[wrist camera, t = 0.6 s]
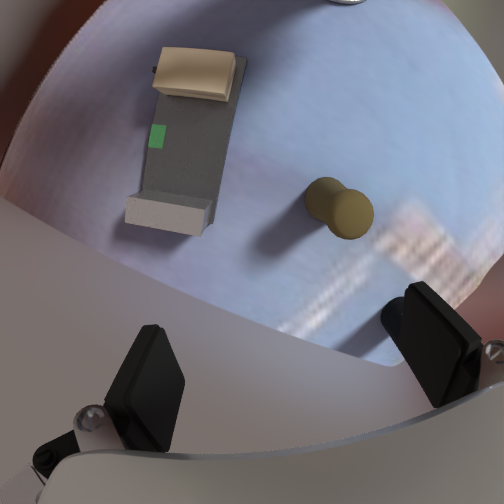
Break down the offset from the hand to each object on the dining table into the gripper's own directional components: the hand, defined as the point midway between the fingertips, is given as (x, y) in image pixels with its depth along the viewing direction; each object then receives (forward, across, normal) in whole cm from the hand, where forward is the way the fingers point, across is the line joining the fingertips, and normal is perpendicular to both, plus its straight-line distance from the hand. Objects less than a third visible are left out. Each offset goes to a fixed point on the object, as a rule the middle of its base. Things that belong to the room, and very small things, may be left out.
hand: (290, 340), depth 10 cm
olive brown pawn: (+28, -8, +1) cm, 30 cm away
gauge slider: (+26, +5, -17) cm, 32 cm away
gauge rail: (+28, +8, -11) cm, 31 cm away
